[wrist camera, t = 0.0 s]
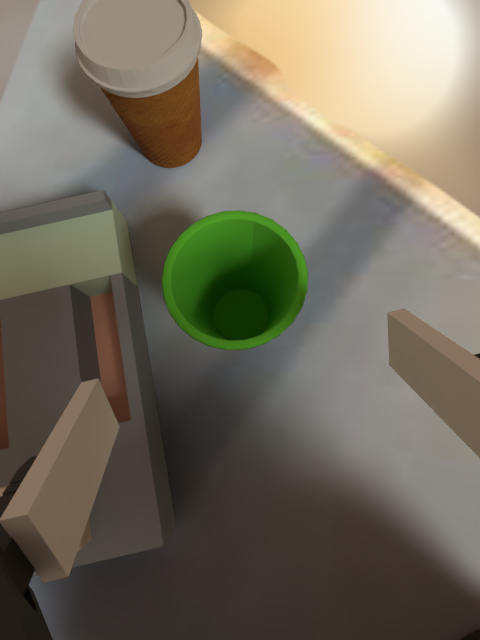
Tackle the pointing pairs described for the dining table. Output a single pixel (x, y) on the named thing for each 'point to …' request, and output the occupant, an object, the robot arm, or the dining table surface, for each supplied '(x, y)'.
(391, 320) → the robot arm
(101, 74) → the disposable coffee cup
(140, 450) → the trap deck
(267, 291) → the cup
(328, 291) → the dining table surface
